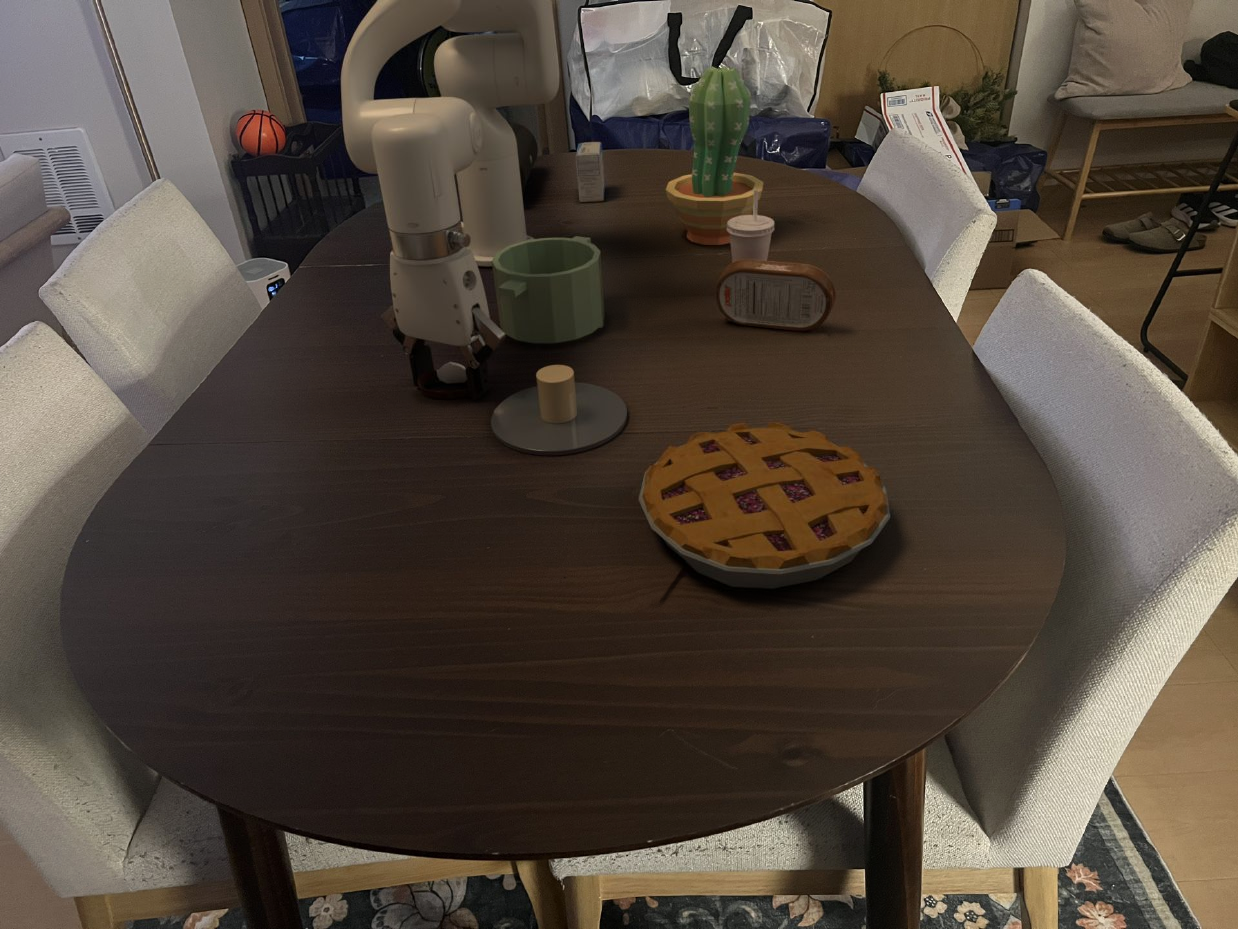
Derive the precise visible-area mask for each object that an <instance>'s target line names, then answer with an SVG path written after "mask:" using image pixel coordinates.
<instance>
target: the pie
mask: <svg viewBox="0 0 1238 929" xmlns="http://www.w3.org/2000/svg"><path fill="white" fill-rule="evenodd" d="M642 478H643V479H642V483H641V488H640V492H639V496H638V502H639V504H640V506H641V508H642V510H643V513H644V515H645V517H646V520H647V522H648V524H649V526H650V528H651V530H653V531H654V532H655V533H656V534H657V535H659V536H660V537H661V538H662V539H663V541H664V542H665V544H666V545H667V547H669V548H670V549H671V550H672V551H673V552H674V553H676V554H677V555H678V556H679V557H680V558H682V560H684V561H685V563H686V564H687V565H688V566H689V567H691V568H692V569H693V570H694V571H695V572H696V573H698V574H700V575H702V576H705V577H707V578H710V579H713V580H714V581H717V582H718V583H722V584H724V585H726V586H729V587H732V588H747V589H748V588H752V589H753V588H754V589H772V590H773V589H777V588H778V589H779V588H783V587H787V586H793V585H798V584H803V583H808V582H813V581H818V580H820V579H821V578H823V577H825V576H827V575H829V574H831V573H833V572H834V571H837V570H838V569H841V568H842V567H844V566H846V565H847V564H850V563H851V562H852V561H853V560H854V559H855V557H857V555H858V554H859V553H860V551H861V550H863V549H864V548H866V547H868V546H870V545H871V544H873V542H874V541H875V540H876V538H877V537H878V536H879V534H880V533H881V531H882V530H883V528H884V527H885V526H886V524H887V523H888V521H889V520H890V519H891V512H890V504H889V497H888V492H887V488H886V487H885V485H884V484H883V483H882V479H881V476H880V474H879V473H878V471H877V470H876V468H875V467H874V466H868V465H867V464H866V463H865V462H864V461H863V458H862V456H861V454H860V453H859V452H858V451H856V450H854V449H853V448H852V447H850V446H849V445H847V446H838V445H836V444H834V443H833V442H831V441H830V439H829V437H828V435H827V434H824V433H822V432H819V431H816V430H814V429H812V430H809V431H806V432H802V431H797V430H793V429H792V428H790V427H789V426H788V425H787V424H783V423H779V422H775V421H770V422H769V423H768V424H767V425H766V426H765V427H751V426H750V425H748V424H746V422H739V423H733V424H730V425H729V426H728V428H727V430H725V431H721V432H708V431H701V432H697V433H692V434H691V435H690V437H689V438H688V440H687V442H686V443H685V444H682V445H680V446H675V445H669V446H668V447H667V448H666V449H665V450H664V452H663V453H661V455H660V457H659V459H658V460H657V461H656V462H655V463H653V464H652V465H649V466H648V467H647V469H646V471H645V472H644V475H643V477H642Z"/></svg>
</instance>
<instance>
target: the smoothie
mask: <svg viewBox="0 0 1238 929" xmlns="http://www.w3.org/2000/svg"><path fill="white" fill-rule="evenodd" d="M758 204H759V200H758V190H757V189H755V190H754V202H753V210H752V214H751V215H742V216H737V217H734V218H732V219H730V220H729V221H728V222H727V231H728V232H729V234H730V243H729V244H730V254H731V263H733V262H735V261H738V260H741V259H755V260H766V261H768V258H769V252H770V246H771V245H770V244H771V239H772V238H771V237H772V233H774V231H775V220H774V219H773V218H771V217H768V216H766V215H762V214H761V215H760V214H758Z"/></svg>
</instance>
